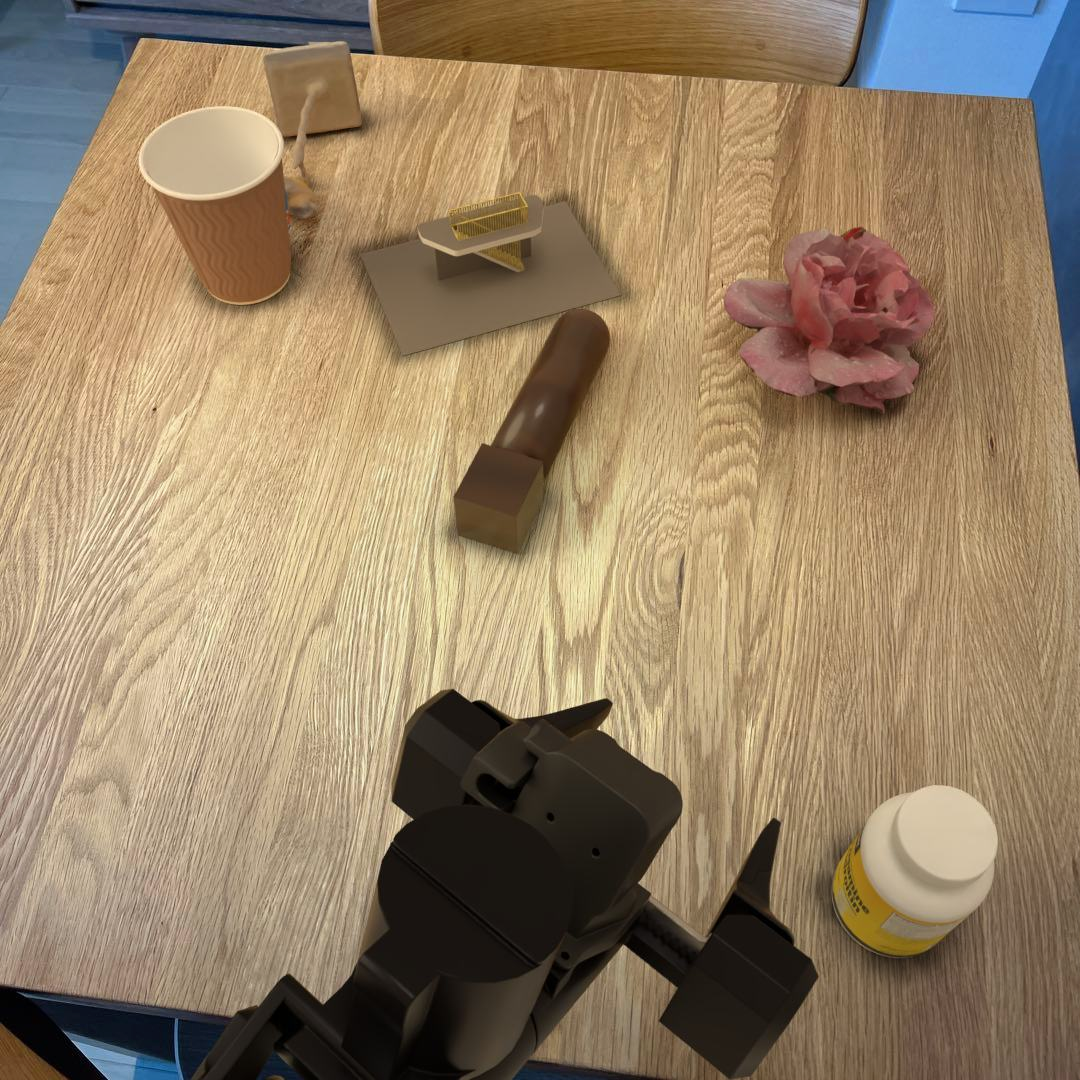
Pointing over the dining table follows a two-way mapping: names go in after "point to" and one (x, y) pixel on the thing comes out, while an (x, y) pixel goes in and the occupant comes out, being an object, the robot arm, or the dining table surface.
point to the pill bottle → (915, 870)
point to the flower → (835, 320)
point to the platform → (486, 272)
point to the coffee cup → (224, 198)
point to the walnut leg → (531, 435)
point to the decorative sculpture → (311, 104)
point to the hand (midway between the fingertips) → (688, 764)
